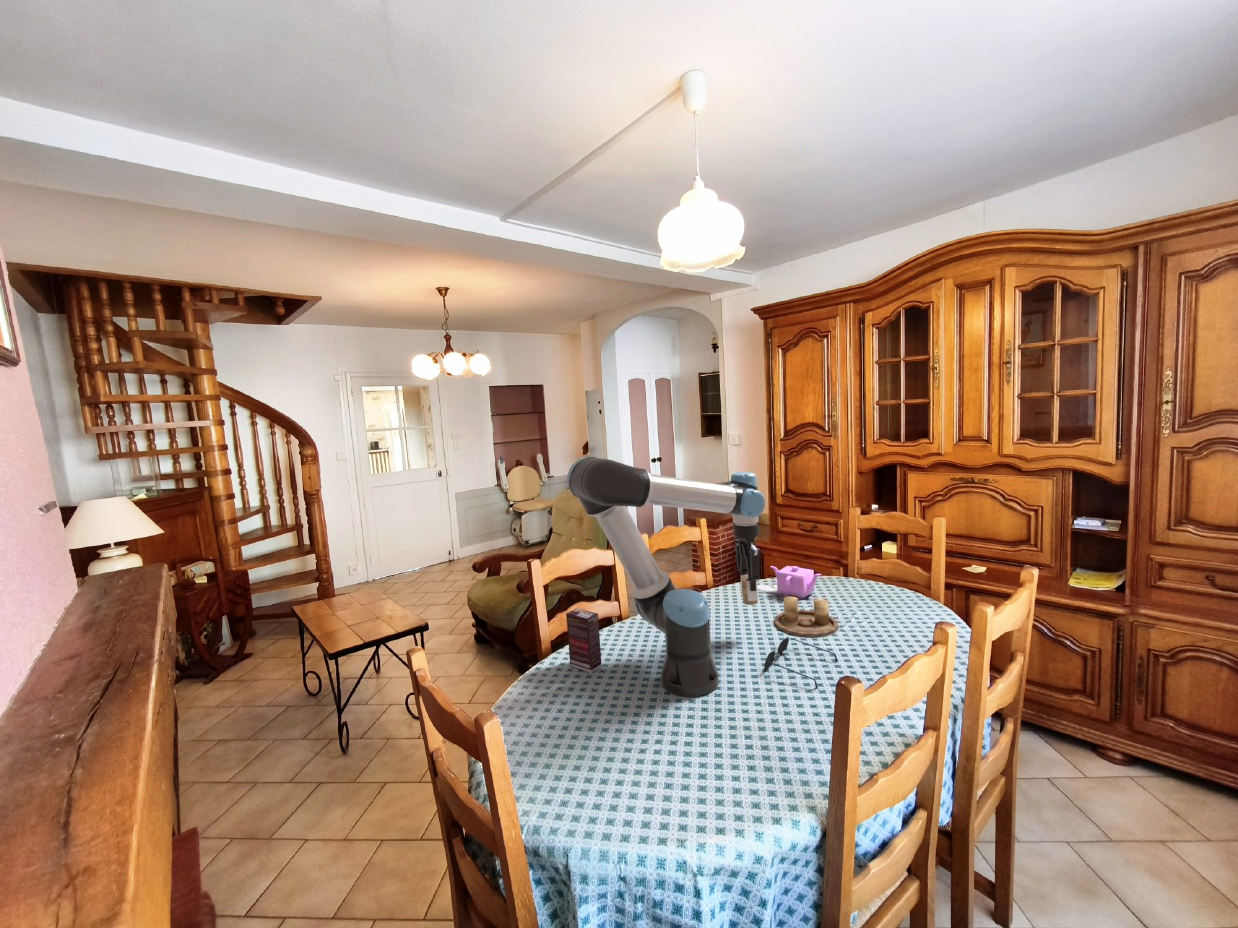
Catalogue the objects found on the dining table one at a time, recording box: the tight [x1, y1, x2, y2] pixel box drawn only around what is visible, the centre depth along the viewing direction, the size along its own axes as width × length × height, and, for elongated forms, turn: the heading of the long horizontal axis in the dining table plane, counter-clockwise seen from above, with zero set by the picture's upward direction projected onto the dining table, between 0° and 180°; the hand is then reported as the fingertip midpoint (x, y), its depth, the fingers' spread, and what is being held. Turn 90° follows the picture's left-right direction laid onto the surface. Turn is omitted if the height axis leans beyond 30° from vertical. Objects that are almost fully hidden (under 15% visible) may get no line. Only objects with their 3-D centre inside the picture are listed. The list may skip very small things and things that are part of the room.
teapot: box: [770, 565, 823, 601], centre depth 197 cm, size 15×13×11 cm
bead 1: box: [742, 578, 758, 606], centre depth 163 cm, size 4×4×7 cm
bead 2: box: [783, 596, 799, 622], centre depth 174 cm, size 4×4×7 cm
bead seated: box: [813, 598, 830, 625], centre depth 170 cm, size 4×4×7 cm
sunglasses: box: [763, 636, 838, 689], centre depth 144 cm, size 17×15×5 cm
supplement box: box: [565, 608, 603, 674], centre depth 152 cm, size 9×5×16 cm, turn 52°
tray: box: [774, 609, 839, 638], centre depth 170 cm, size 19×19×2 cm
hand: (749, 597), depth 163 cm, fingers closed on bead 1, 4 cm apart
